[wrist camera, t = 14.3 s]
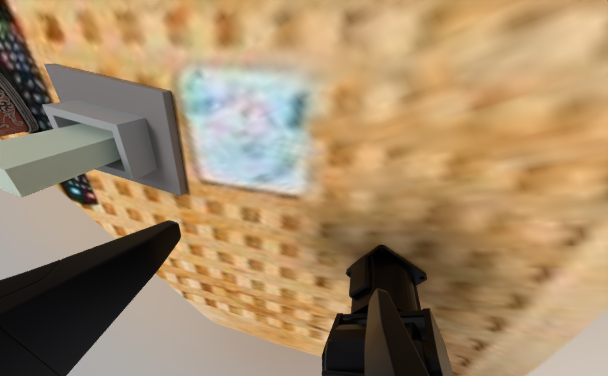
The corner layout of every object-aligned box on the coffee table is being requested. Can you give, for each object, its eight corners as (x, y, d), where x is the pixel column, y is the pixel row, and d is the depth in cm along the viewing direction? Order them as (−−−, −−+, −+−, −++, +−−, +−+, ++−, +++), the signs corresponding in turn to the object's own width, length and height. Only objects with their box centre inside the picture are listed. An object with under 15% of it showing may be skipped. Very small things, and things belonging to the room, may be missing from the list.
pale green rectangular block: (139, 151, 25) (22, 197, 16) (99, 139, 25) (-33, 176, 17) (134, 131, 23) (4, 169, 15) (92, 118, 24) (-56, 148, 16)
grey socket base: (186, 191, 27) (161, 209, 24) (96, 164, 29) (61, 177, 26) (170, 90, 21) (132, 96, 18) (55, 63, 23) (2, 64, 20)
